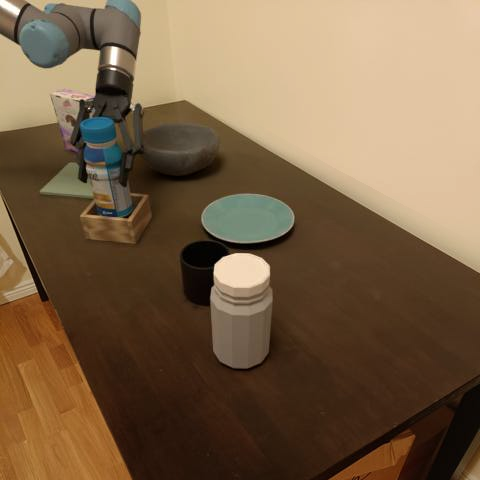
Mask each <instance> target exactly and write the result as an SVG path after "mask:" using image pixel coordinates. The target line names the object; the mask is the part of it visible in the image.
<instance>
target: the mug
mask: <svg viewBox="0 0 480 480" xmlns="http://www.w3.org/2000/svg"><path fill="white" fill-rule="evenodd" d="M228 255H231V251H230V249H229V247H228V246H227V245H226V244H225V243H222V242H220V241H217V240H214V239H197V240H194V241H191V242H189V243H188V244H187V243H186V245H184V246H183V248H182V249H181V250H180V252H179V262H180V270H181V279H182V289H183V294H184V296H185V297H186V298H187V299H188V301H190V302H192V303H194V304H196V305H200V306H211V302H210V297H211V289H212V287H213V286H214V285H215V283H214V266H215V264H216V263H217V262H218V261H219V260H220V259H221V258H223V257H225V256H228Z"/></svg>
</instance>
